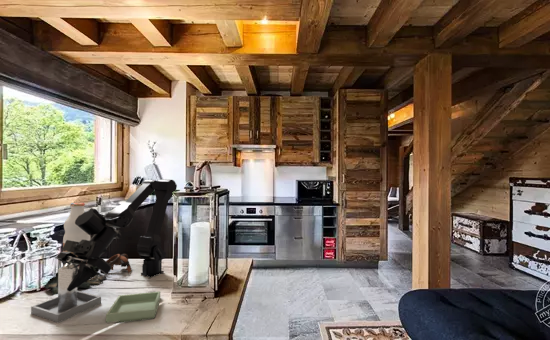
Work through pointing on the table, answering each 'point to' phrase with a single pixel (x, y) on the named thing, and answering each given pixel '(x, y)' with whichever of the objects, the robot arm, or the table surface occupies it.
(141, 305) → the tray
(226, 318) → the table surface
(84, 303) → the tray
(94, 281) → the decorative rock
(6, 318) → the table surface
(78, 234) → the fruit juice
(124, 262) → the brown arched figure
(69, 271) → the pebble canister
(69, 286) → the robot arm
